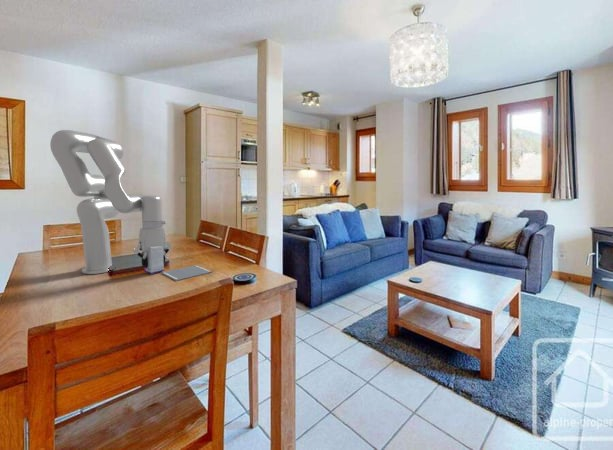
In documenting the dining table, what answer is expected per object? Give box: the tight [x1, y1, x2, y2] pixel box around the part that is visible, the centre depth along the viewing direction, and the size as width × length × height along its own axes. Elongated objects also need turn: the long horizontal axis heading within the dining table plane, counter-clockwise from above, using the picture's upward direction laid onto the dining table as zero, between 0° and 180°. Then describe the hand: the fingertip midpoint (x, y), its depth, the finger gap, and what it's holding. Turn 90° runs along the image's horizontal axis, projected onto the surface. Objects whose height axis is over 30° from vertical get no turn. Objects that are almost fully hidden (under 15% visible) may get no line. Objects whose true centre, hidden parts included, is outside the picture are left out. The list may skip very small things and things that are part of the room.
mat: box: [160, 264, 213, 282], centre depth 131 cm, size 14×16×1 cm
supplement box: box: [143, 246, 165, 275], centre depth 130 cm, size 6×6×12 cm
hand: (153, 265), depth 131 cm, fingers closed on supplement box, 6 cm apart
